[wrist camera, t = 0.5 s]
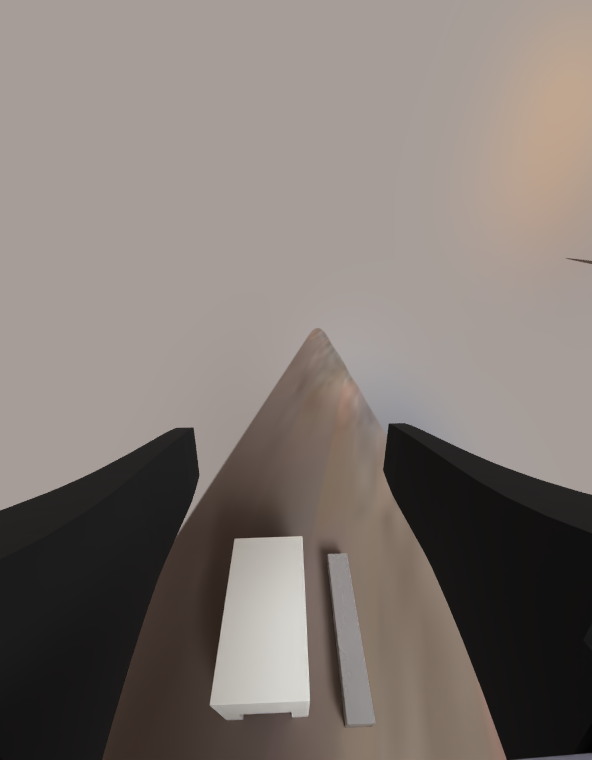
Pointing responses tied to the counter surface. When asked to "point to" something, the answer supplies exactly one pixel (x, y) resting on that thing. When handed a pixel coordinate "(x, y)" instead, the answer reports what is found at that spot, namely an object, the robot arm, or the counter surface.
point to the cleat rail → (349, 646)
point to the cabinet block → (263, 632)
